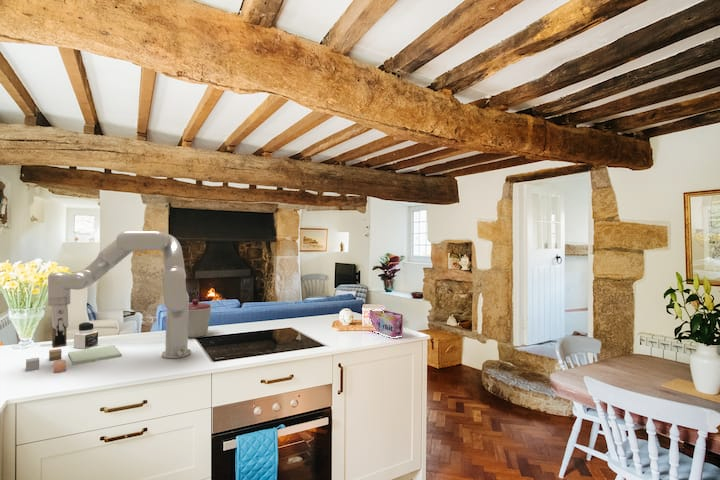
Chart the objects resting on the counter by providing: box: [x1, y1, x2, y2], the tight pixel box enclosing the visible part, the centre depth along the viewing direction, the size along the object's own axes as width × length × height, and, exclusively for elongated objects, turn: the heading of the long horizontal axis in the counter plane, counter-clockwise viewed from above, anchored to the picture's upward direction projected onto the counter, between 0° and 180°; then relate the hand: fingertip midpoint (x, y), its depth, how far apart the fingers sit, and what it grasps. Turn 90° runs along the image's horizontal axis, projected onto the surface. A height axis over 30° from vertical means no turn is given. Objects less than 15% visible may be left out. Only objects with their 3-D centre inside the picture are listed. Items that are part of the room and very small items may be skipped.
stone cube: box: [25, 357, 40, 372], centre depth 153 cm, size 4×4×4 cm
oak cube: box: [48, 348, 63, 362], centre depth 166 cm, size 4×4×4 cm
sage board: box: [67, 345, 123, 365], centre depth 172 cm, size 18×18×1 cm
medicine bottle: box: [73, 321, 99, 350], centre depth 186 cm, size 7×7×12 cm
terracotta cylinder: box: [52, 359, 67, 374], centre depth 151 cm, size 4×4×4 cm
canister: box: [188, 298, 213, 339], centre depth 211 cm, size 18×18×21 cm
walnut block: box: [51, 326, 67, 349], centre depth 159 cm, size 4×4×8 cm
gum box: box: [369, 309, 404, 337], centre depth 223 cm, size 24×8×14 cm, turn 37°
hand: (59, 342), depth 159 cm, fingers closed on walnut block, 4 cm apart
